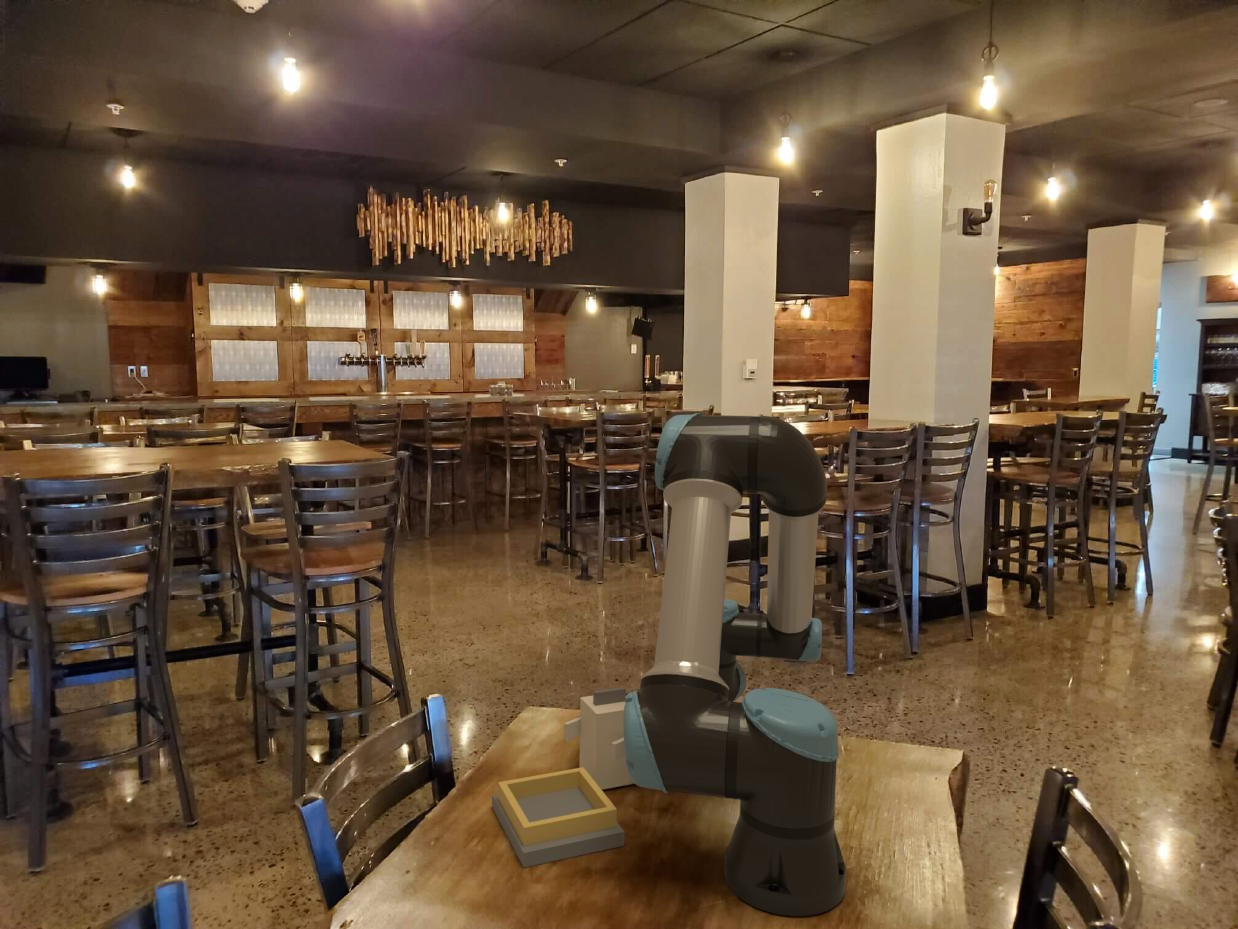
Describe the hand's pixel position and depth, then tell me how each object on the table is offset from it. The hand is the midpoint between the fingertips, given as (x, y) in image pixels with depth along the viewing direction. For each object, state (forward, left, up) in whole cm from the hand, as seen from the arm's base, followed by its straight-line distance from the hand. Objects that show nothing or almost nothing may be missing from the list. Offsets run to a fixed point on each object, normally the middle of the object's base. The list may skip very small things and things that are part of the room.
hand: (588, 742), depth 128 cm
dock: (-8, +8, -8) cm, 14 cm away
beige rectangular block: (+2, -4, -7) cm, 8 cm away
